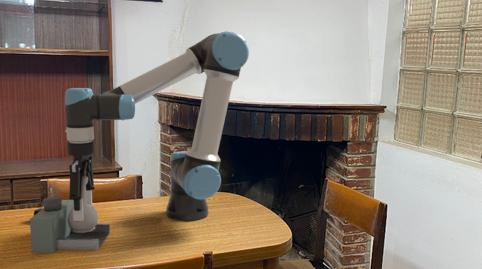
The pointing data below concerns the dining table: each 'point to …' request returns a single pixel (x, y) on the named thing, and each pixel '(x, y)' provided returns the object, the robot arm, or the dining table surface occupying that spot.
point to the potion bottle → (88, 213)
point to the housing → (50, 224)
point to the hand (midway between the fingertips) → (83, 215)
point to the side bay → (85, 239)
